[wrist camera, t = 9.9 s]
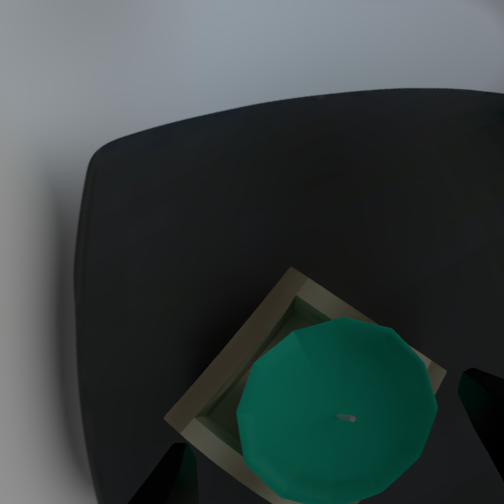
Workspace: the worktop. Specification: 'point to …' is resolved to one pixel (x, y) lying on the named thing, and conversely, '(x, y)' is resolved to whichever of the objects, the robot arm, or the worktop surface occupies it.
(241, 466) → the candle holder
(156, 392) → the worktop surface
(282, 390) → the candle
